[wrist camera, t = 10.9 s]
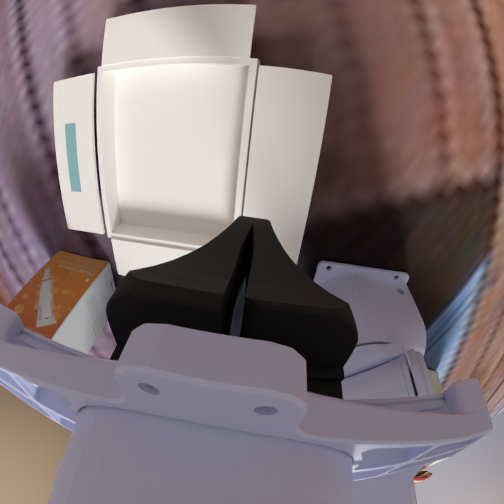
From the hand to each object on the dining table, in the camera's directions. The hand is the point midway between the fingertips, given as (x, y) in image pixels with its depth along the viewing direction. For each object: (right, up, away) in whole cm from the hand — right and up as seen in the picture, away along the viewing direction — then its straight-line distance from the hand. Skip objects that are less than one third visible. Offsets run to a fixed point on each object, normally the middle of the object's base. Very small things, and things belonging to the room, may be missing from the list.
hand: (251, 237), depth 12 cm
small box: (-19, -3, +17) cm, 26 cm away
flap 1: (-15, +7, +6) cm, 18 cm away
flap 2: (+2, +4, +6) cm, 7 cm away
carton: (-6, +7, +8) cm, 13 cm away
